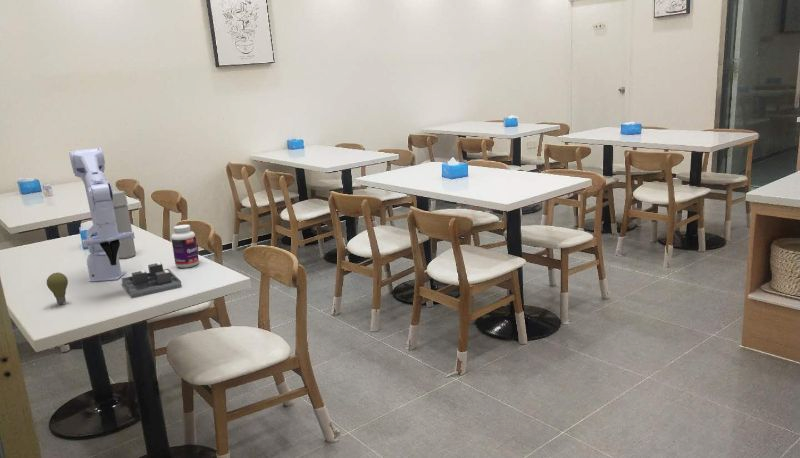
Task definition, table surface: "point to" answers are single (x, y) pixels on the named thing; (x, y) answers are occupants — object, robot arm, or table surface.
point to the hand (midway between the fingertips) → (113, 264)
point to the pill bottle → (184, 247)
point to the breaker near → (163, 277)
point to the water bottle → (123, 224)
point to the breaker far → (155, 268)
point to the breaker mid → (140, 277)
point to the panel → (149, 285)
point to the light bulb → (58, 286)
